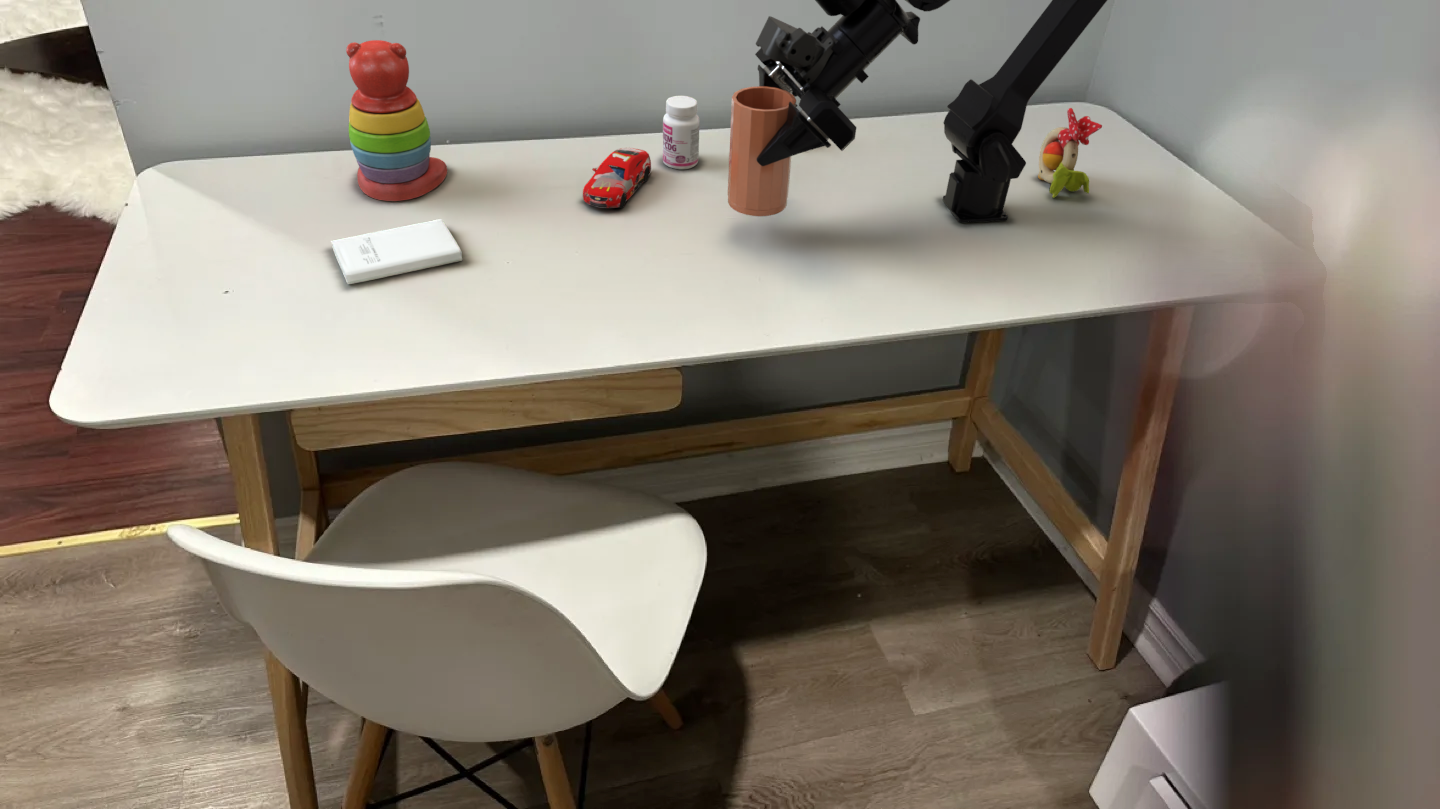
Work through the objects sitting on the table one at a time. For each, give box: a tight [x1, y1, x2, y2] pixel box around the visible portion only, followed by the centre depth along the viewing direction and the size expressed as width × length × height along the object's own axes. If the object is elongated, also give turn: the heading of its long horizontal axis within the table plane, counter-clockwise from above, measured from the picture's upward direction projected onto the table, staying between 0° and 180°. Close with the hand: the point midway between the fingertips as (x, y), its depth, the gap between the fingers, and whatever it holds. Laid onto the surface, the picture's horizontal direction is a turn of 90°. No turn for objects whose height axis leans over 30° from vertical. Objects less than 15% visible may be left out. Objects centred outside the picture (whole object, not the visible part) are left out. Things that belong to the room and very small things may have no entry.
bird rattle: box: [1037, 107, 1103, 199], centre depth 129 cm, size 6×11×9 cm
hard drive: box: [330, 218, 463, 285], centre depth 111 cm, size 2×8×12 cm
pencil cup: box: [727, 85, 797, 217], centre depth 112 cm, size 7×7×12 cm
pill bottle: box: [662, 95, 701, 170], centre depth 130 cm, size 5×5×8 cm
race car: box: [582, 147, 652, 209], centre depth 125 cm, size 13×5×4 cm, turn 160°
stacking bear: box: [345, 39, 448, 202], centre depth 119 cm, size 11×10×18 cm
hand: (749, 149), depth 112 cm, fingers closed on pencil cup, 7 cm apart
